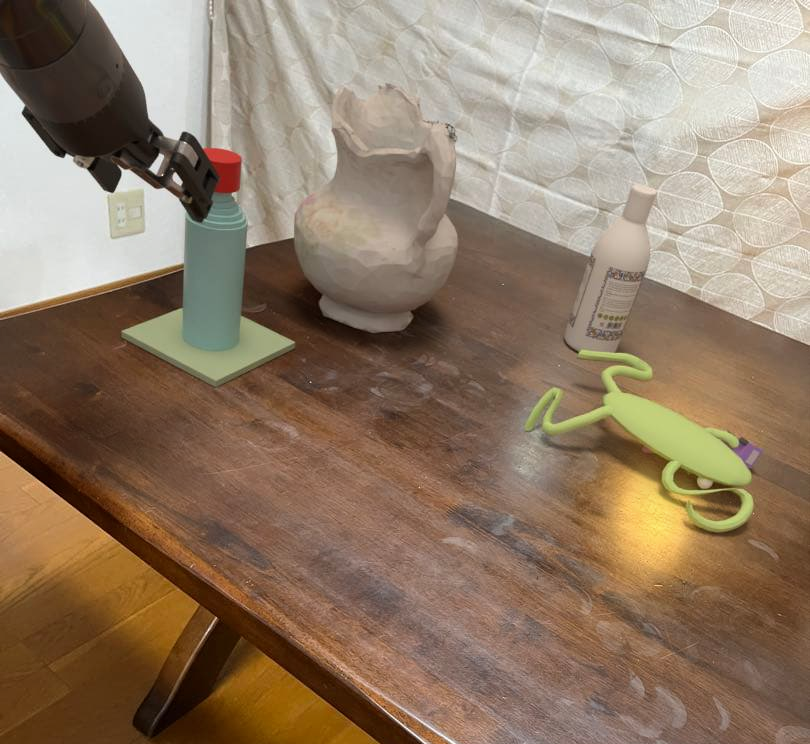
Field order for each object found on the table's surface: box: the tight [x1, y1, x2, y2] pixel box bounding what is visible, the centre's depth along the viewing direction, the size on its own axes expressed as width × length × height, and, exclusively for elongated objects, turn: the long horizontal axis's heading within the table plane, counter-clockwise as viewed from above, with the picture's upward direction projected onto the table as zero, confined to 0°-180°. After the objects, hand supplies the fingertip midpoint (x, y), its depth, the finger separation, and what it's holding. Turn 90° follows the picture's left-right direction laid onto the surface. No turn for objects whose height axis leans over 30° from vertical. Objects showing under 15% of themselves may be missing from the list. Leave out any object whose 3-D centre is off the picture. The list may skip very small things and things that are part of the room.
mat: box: [121, 307, 296, 388], centre depth 93 cm, size 13×13×1 cm
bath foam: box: [563, 184, 657, 353], centre depth 105 cm, size 7×7×20 cm
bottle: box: [182, 192, 249, 351], centre depth 87 cm, size 6×6×18 cm
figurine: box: [524, 350, 764, 534], centre depth 92 cm, size 18×27×6 cm
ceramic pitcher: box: [293, 82, 459, 334], centre depth 99 cm, size 22×20×25 cm
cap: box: [203, 147, 243, 194], centre depth 82 cm, size 4×4×3 cm
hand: (158, 197), depth 74 cm, fingers open, 8 cm apart
